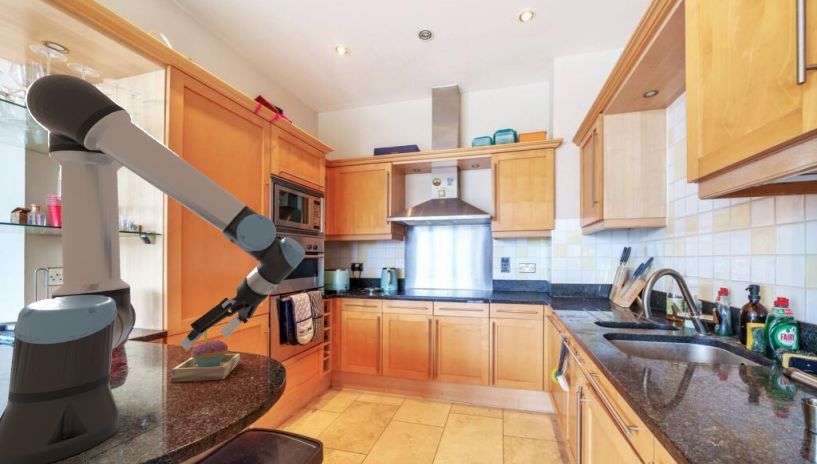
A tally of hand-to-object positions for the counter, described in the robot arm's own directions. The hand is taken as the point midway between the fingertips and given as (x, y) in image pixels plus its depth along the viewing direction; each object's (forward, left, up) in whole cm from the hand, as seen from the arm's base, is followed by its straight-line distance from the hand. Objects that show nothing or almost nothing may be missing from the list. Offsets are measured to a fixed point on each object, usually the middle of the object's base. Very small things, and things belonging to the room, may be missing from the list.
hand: (205, 340), depth 87 cm
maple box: (-1, -1, -8) cm, 8 cm away
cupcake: (0, -1, -7) cm, 8 cm away
